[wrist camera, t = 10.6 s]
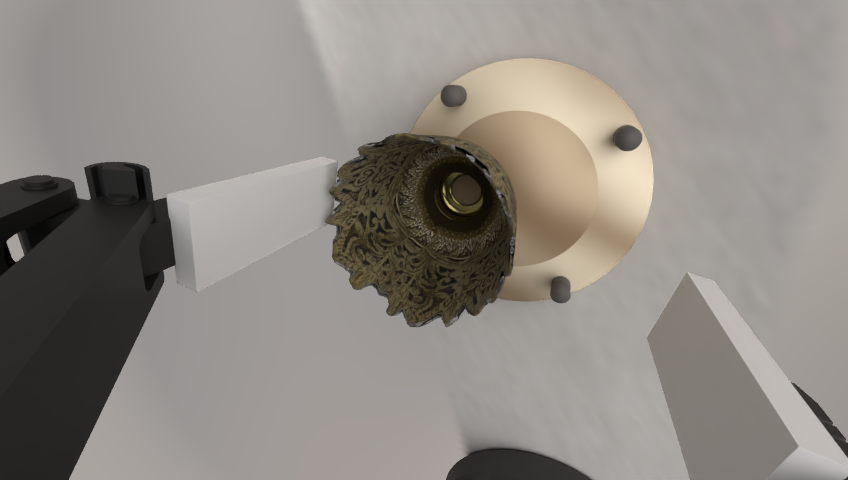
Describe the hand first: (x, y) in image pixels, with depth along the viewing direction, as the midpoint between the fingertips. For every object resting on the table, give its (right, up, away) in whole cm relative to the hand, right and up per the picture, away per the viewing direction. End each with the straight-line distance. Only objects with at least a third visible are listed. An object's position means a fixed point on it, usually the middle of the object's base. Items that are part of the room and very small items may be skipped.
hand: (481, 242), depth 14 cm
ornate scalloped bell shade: (0, +3, +7) cm, 7 cm away
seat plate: (+3, +3, +7) cm, 8 cm away
